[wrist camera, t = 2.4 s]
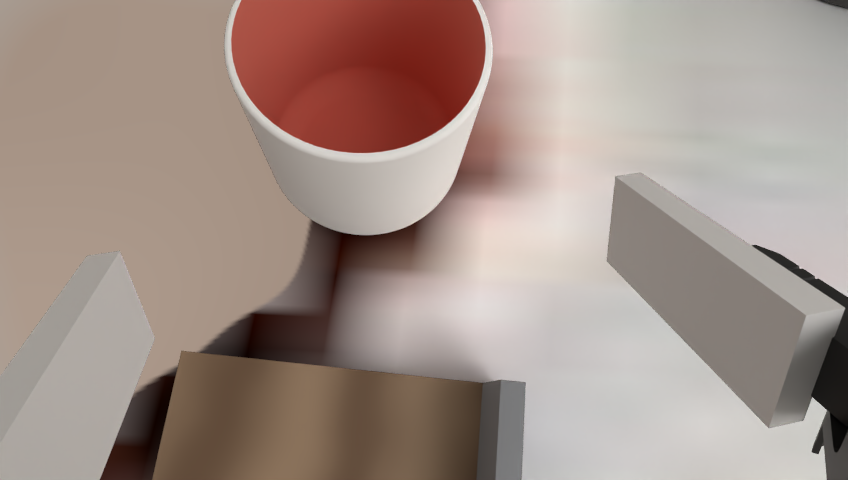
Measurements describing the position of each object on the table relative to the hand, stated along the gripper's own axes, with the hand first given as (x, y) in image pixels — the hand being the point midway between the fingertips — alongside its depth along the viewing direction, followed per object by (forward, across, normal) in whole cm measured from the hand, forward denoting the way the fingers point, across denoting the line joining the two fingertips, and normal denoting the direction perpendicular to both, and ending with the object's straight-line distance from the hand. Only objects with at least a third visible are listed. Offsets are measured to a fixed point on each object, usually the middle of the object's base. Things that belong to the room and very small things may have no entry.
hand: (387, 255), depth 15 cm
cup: (+16, +1, -3) cm, 16 cm away
